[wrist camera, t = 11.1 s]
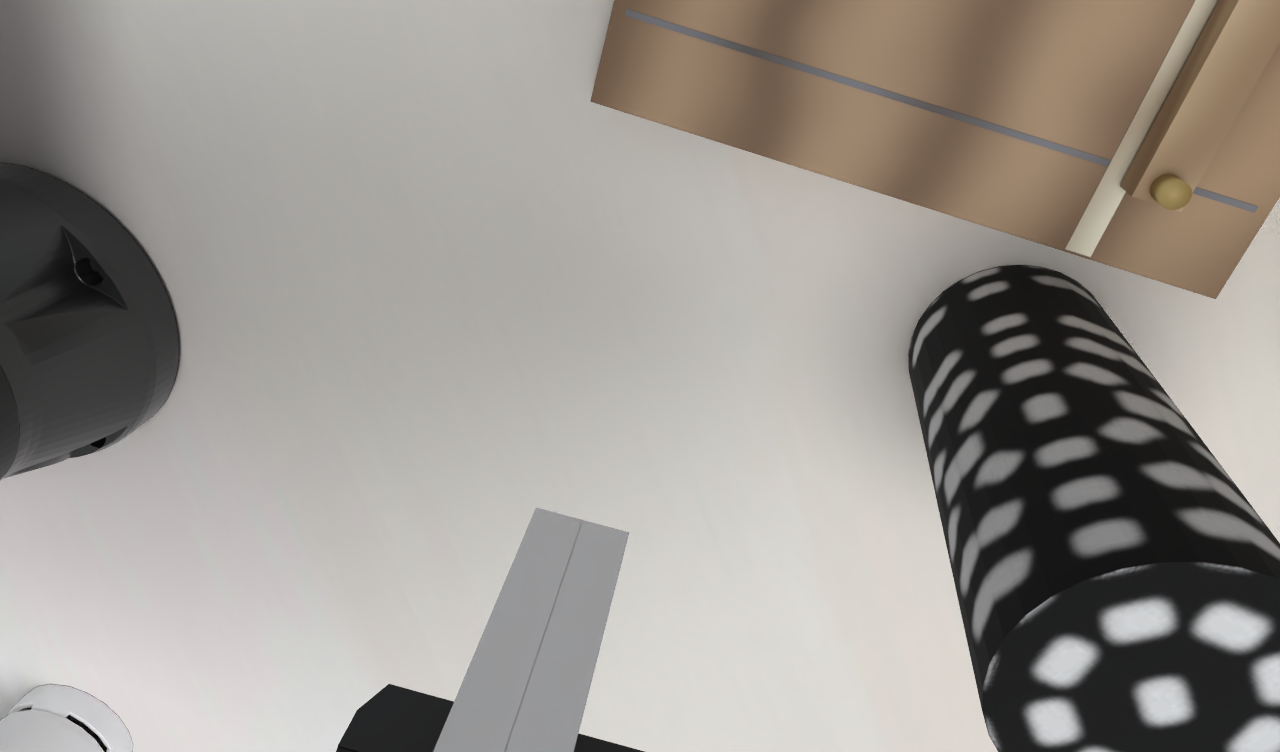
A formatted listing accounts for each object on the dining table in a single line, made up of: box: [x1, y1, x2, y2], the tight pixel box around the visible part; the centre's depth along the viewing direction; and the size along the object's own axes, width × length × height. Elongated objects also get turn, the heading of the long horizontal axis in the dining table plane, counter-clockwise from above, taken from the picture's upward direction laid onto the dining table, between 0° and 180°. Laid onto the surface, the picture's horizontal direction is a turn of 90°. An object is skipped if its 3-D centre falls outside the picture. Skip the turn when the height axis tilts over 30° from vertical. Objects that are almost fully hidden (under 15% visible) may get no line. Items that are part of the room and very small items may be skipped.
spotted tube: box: [909, 265, 1280, 752], centre depth 31 cm, size 8×8×20 cm
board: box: [591, 0, 1280, 299], centre depth 33 cm, size 25×12×3 cm, turn 75°
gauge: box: [1120, 0, 1280, 212], centre depth 28 cm, size 5×13×9 cm, turn 165°
